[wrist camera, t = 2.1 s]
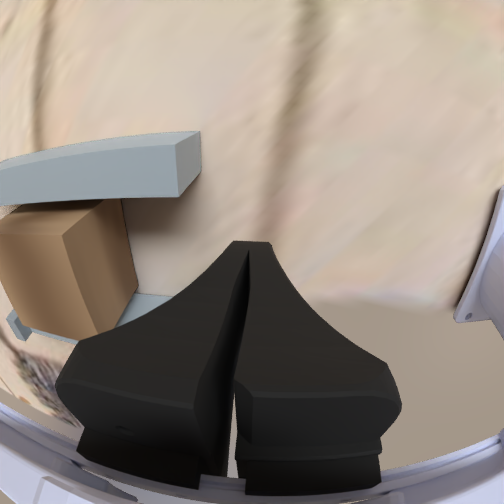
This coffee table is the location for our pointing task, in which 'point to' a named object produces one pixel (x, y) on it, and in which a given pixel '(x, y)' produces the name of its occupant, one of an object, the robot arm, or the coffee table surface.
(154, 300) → the pair of lipped bars
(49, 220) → the walnut block
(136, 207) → the coffee table surface
